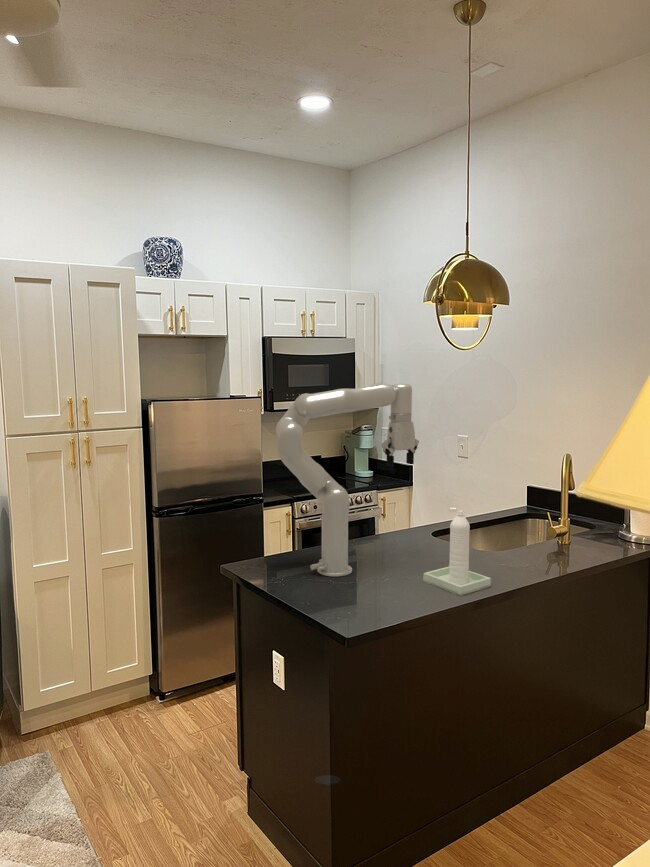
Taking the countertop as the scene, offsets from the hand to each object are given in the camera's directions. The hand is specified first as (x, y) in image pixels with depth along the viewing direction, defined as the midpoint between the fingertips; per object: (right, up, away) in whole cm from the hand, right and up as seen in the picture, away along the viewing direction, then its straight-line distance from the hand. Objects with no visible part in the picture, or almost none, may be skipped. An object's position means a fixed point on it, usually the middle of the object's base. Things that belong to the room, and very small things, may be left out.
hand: (400, 465), depth 236 cm
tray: (+18, -40, -13) cm, 46 cm away
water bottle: (+18, -40, -13) cm, 45 cm away
